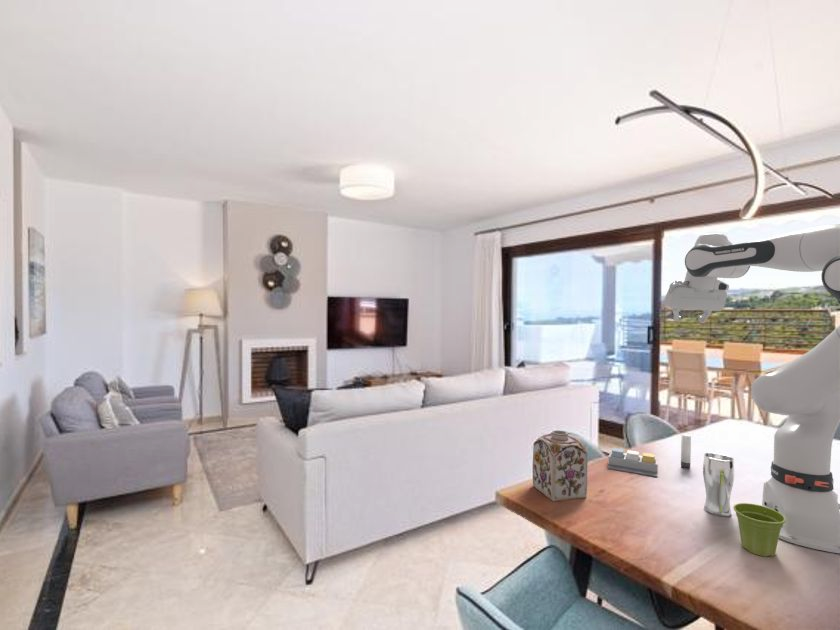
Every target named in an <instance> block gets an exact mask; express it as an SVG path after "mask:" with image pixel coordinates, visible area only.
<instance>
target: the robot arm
mask: <svg viewBox="0 0 840 630" xmlns="http://www.w3.org/2000/svg"><path fill="white" fill-rule="evenodd" d="M684 266H685V268H686V273H685V277H684V280H675V281H673V282H672V283H670V285H669V288H668V290H667V292H666V294H665V298H664V300H663V304H664V307H667V308H669V309H671V310H672V313H673V321H675V322H681V319H682V316H680V313H679V312H681V310H691V311H693V310H694V311H702V312H703V313H702V314H701V315H700V316H698V318H697V322H698V323H701V324H705V323H706V321H707V318H708V317H710V316H711V315H712V312H721V311H722V310H723V309H724V308H725V305H726V301H727V296H728V294H727V291H729V289H730V285H729V284H728V283H726V282H723V281H721V280H719V279H720V278H723V279H739V278H741V277H743V276H744V275H746V274H747V273H748V272H749V270H750V267H759V268H766V269H767V268H768V269H774V270H779V271H787V272H788V271H789V272H798V273H799V272H801V273H802V272H803V273H808V272H809V273H810V272H811V273H812V272H821V282H822V285H823V287H824V288H825V290H826V291H827V293H829V294H830V296H833V297H834V299H836V300H837V302H838V304H839V305H840V223H838V224H837V223H836V224H828V225H826V224H825V225H820V226H816V227H810V228H806V229H802V230H801V229H800V230H798V231H797V230H796V231H792V232H789V233H785V234H781V235H776V236H772V237H768V238H764V239H758V240H755V241H754V240H753V241H749V242H748V241H747V242H741V243H735V244H734V243H733V242H732V241H730V240H729V239H728V236H727V235H725V234H722V233H712V232H710V233H703V234H700V235H699V236H698V237H697V239H696V241H695V243H694V246H693V247H692V248H691V249H690V250H688V252H687V253H686V255H685V257H684ZM718 278H719V279H718ZM750 387H751V388H750V394H751V398H752V401H753V402H754V404H755V405H756V407H758V408H759V409H760V410H762V411H764V412H766V413H771V414H774V415H779V416H780V415H781V416H787V419H786V421H785V422H784V424H783V425H782V426H780V427H779V428H778V429H776V431H775V433H774V435H773V437H774V438H773V460H772V461H771V465H770V476H771V477H770V478H769V479H768V480H767V481H765V482H763V488H762V489H763V490H762V501H761V506H764V507H768V508H770V509H773V510H775V511H777V512H779V513H781V514H782V515H784V516H785V518H786V522H785V523H783V526H782V528H781V530H780V534H779V538H778V539H780V540H783V541H785V542H788V543H791V544H794V545H799V546H802V547H805V548H810V549H813V550H820V551H824V552H829V553H835V554H840V503H839V502H838V493H836V492H835V491H833V490H835V489H834V482H835V481H834V478H833V477H834V476H833V472H832V471H831V461H832V448H833V447H832V446H833V441H834V437H835V434H836V432H837V429H838V427H839V425H840V324H839V325H838V326H837V327H836V328H834V330H833V331H831V333H829V334H828V335H827V336H826V337H825V338H824V339H822V341H820V342H819V343H818V344H817V345H815V346H814V347H812V348H811V349H810V350H808V351H807V352H805V353H803V354H802V355H800V356H799V357H798V356H797V358H795V359H793V360H792V361H790V362H788V363H786V364H785V365H783V366H781V367H779V368H777V369H776V370H773V371H770V372H769V373H766V374H763V375H760V376H758V377H756V378H755V379H754V381H753V382H752V383H751V386H750Z"/></svg>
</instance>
